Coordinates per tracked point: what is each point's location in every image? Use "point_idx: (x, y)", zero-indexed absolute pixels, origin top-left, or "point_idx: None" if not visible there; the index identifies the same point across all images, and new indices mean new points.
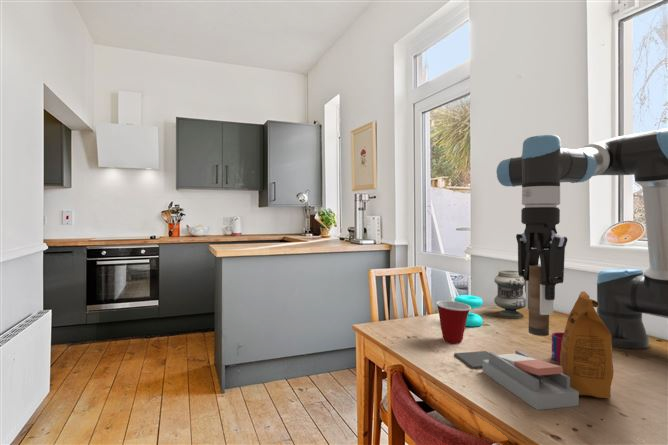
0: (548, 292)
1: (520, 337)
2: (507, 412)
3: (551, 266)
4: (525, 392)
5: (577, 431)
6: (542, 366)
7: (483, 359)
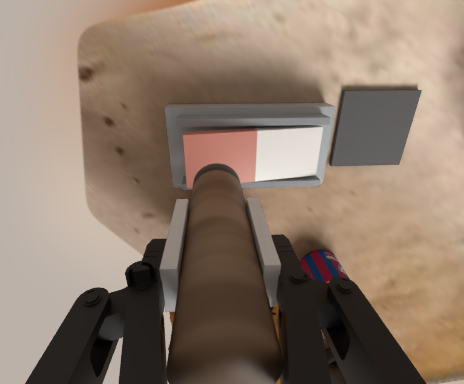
0: (145, 259)
1: (424, 263)
2: (164, 43)
3: (47, 382)
4: (195, 106)
5: (102, 121)
6: (197, 155)
7: (366, 134)
